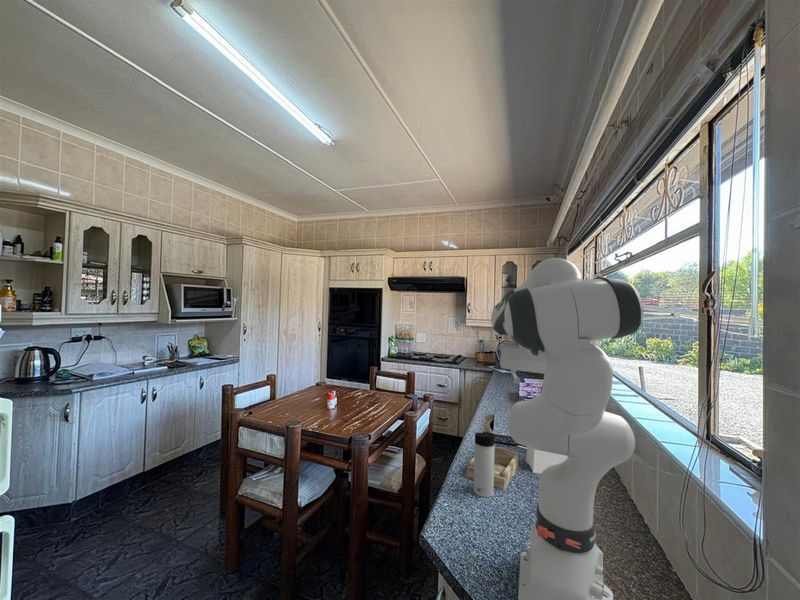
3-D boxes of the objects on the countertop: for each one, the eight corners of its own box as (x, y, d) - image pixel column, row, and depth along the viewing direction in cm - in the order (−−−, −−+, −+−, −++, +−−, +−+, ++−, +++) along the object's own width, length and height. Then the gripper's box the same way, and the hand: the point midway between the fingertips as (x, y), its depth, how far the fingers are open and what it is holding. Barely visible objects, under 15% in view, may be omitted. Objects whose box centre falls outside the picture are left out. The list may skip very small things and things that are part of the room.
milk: (558, 464, 125) (559, 398, 125) (568, 480, 113) (569, 407, 114) (526, 461, 127) (527, 396, 127) (532, 476, 116) (534, 405, 116)
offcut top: (498, 480, 106) (498, 474, 106) (473, 471, 111) (473, 465, 111) (503, 474, 110) (503, 468, 110) (478, 466, 115) (478, 460, 115)
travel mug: (479, 502, 98) (481, 437, 99) (470, 490, 105) (471, 429, 105) (497, 499, 100) (499, 436, 100) (487, 488, 106) (488, 428, 106)
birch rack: (504, 494, 104) (504, 472, 104) (466, 481, 111) (467, 460, 111) (517, 471, 119) (518, 452, 119) (484, 461, 126) (484, 443, 126)
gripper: (497, 341, 106) (497, 382, 106) (566, 347, 95) (565, 393, 95) (502, 339, 111) (502, 379, 111) (568, 345, 100) (567, 388, 100)
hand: (531, 385), depth 103 cm, fingers open, 8 cm apart
